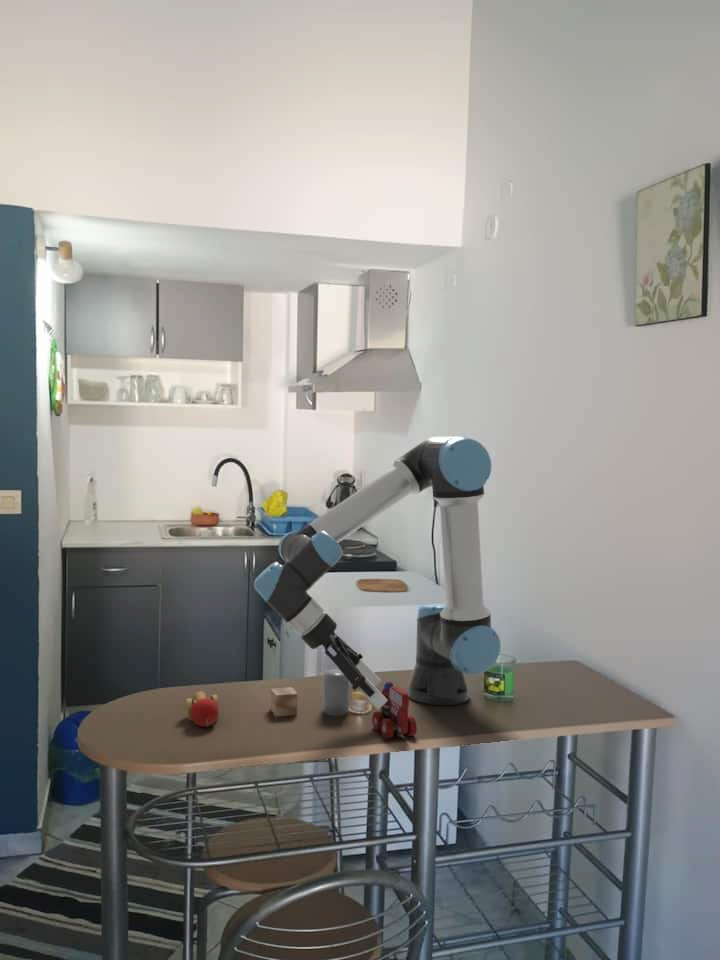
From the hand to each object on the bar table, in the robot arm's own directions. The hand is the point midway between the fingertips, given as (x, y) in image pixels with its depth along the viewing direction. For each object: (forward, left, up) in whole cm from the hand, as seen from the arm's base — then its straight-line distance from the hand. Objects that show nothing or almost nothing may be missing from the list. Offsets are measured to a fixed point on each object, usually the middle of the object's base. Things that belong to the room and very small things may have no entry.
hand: (379, 694), depth 181 cm
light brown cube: (+21, -12, -8) cm, 26 cm away
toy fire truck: (-3, 0, -9) cm, 9 cm away
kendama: (+39, -9, -9) cm, 41 cm away
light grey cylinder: (+9, -13, -8) cm, 18 cm away
